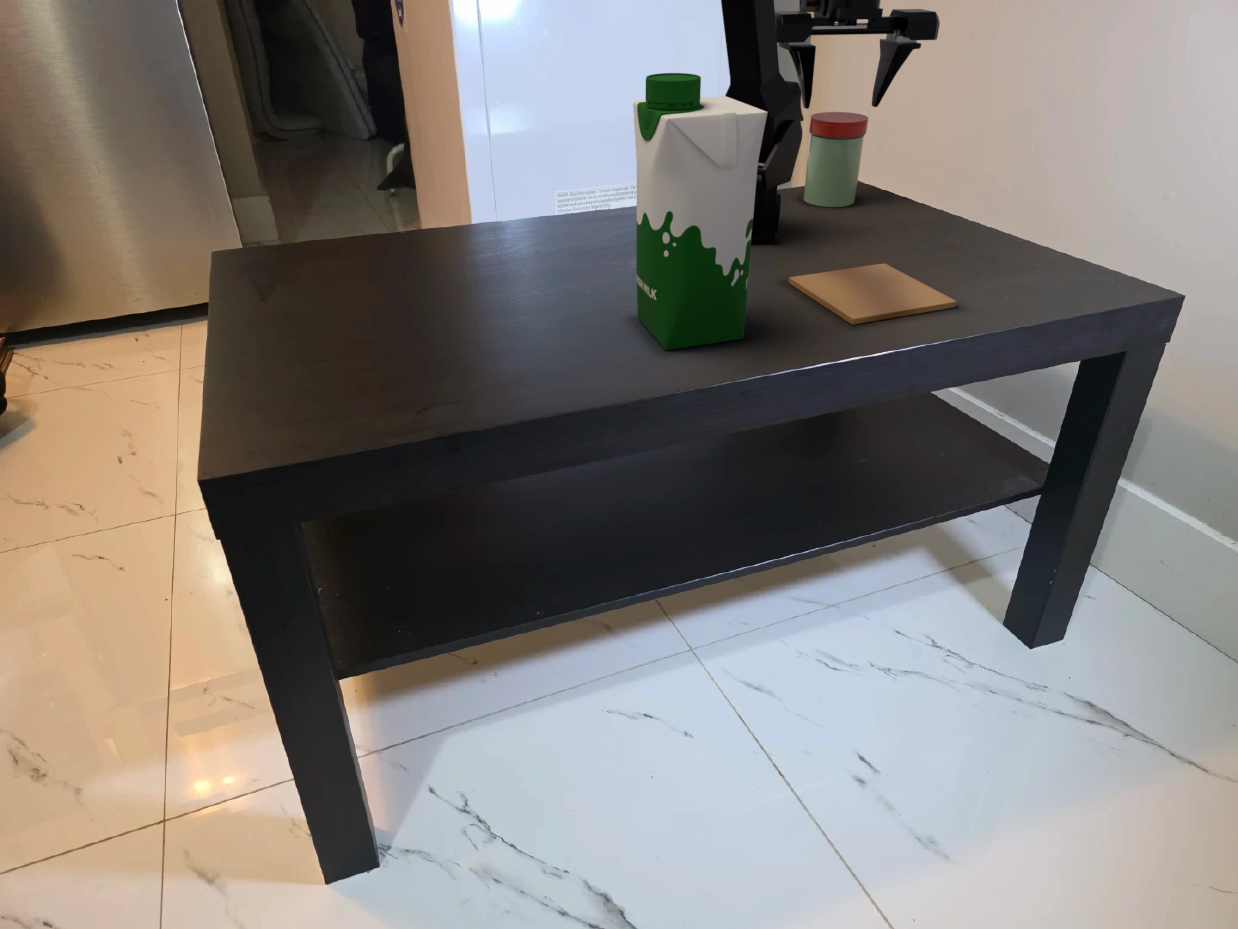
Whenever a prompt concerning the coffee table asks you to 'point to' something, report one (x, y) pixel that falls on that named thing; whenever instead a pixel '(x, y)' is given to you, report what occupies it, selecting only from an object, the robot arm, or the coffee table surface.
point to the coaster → (871, 293)
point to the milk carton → (694, 210)
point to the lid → (838, 124)
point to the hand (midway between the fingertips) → (840, 107)
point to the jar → (832, 170)
